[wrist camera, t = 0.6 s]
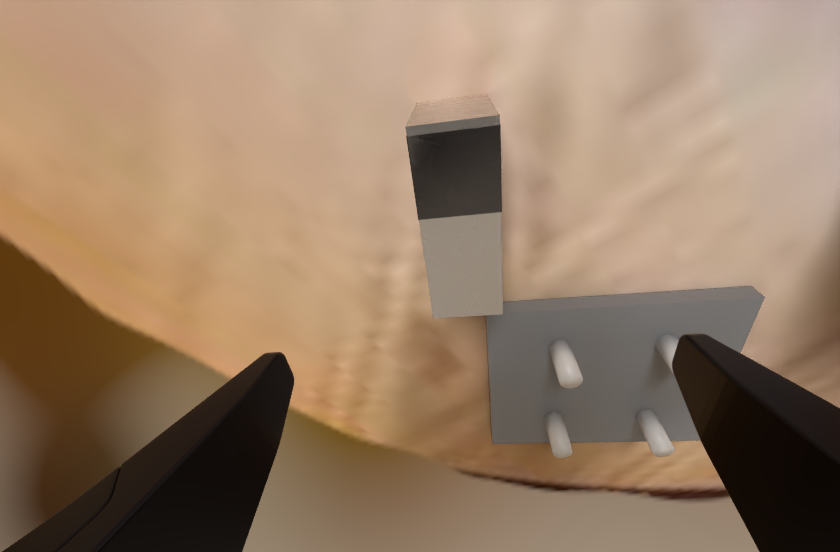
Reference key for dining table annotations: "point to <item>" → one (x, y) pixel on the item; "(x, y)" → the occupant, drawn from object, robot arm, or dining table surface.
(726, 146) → the dining table surface
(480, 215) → the block
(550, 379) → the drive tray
